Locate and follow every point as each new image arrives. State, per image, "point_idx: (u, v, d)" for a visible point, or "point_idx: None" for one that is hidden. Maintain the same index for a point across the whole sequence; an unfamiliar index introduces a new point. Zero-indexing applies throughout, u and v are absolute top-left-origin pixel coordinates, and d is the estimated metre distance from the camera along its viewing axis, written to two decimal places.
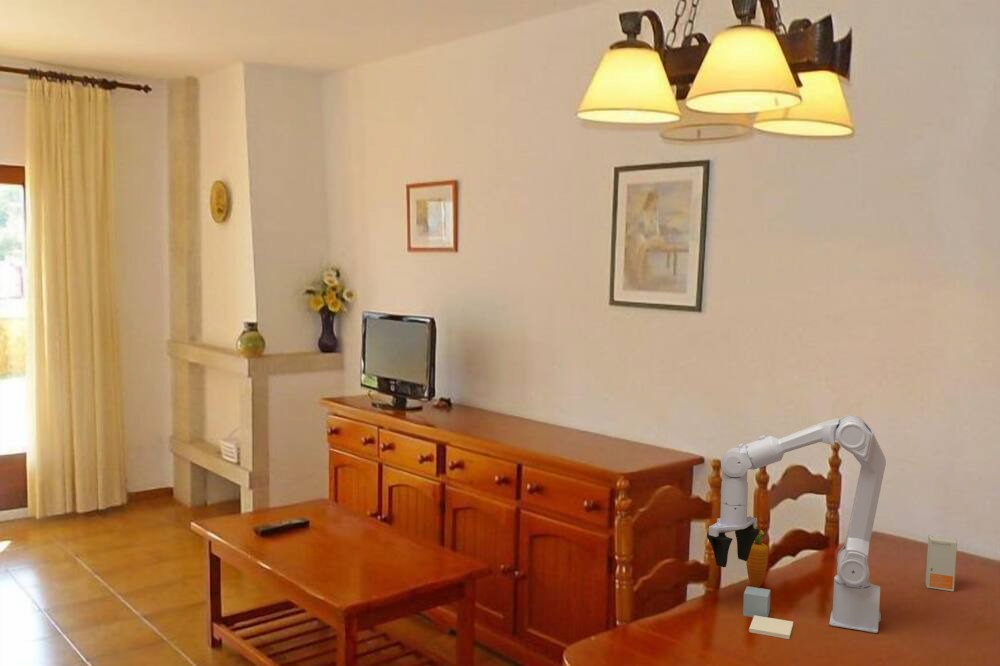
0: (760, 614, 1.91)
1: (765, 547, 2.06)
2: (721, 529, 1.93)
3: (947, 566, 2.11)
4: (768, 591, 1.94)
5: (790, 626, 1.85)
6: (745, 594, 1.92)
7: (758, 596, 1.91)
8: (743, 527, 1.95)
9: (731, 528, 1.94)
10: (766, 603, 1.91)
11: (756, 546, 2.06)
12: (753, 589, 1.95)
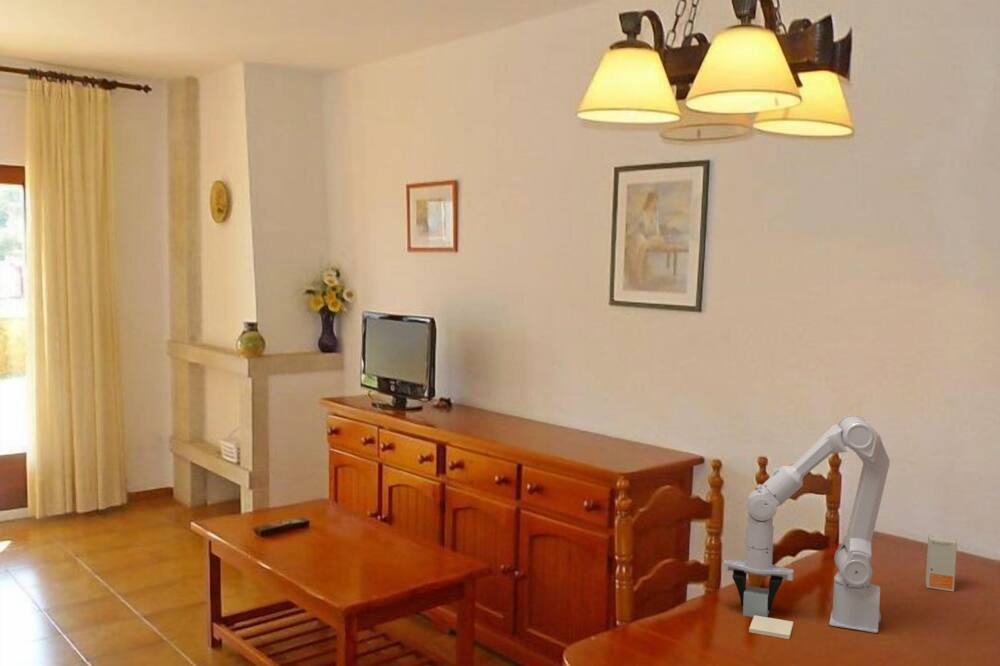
0: (760, 614, 1.91)
1: None
2: (730, 565, 1.94)
3: (947, 566, 2.11)
4: (768, 591, 1.94)
5: (790, 626, 1.85)
6: (745, 594, 1.92)
7: (758, 596, 1.91)
8: (754, 571, 1.91)
9: (741, 568, 1.93)
10: (766, 603, 1.91)
11: None
12: (753, 589, 1.95)
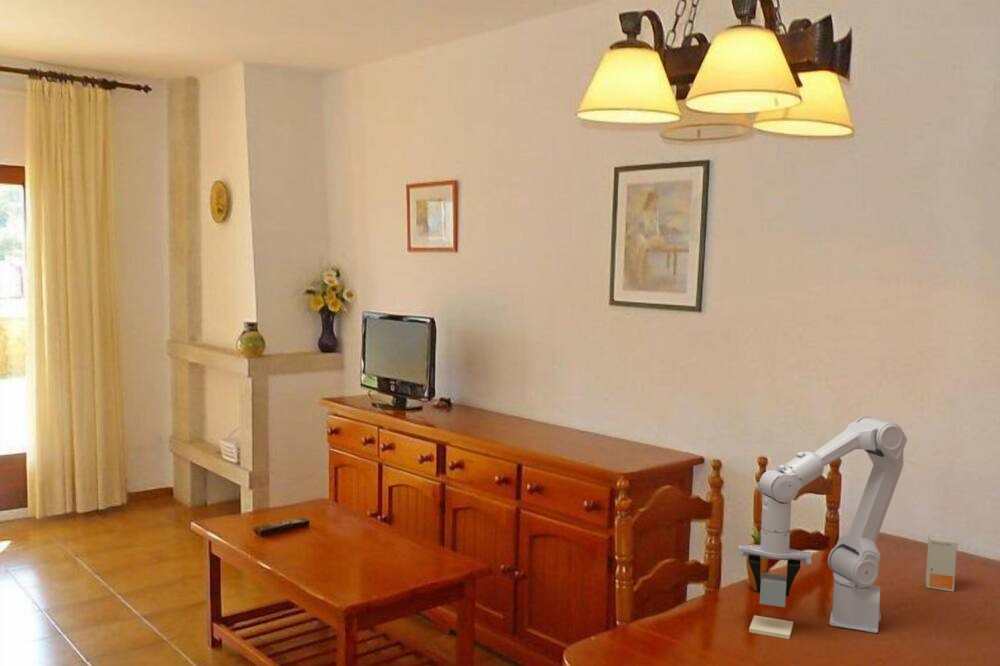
0: (778, 601, 1.82)
1: None
2: (746, 550, 1.85)
3: (947, 566, 2.11)
4: (784, 577, 1.85)
5: (790, 626, 1.85)
6: (762, 581, 1.83)
7: (776, 582, 1.82)
8: (772, 555, 1.82)
9: (757, 552, 1.83)
10: (784, 590, 1.82)
11: None
12: (768, 575, 1.86)
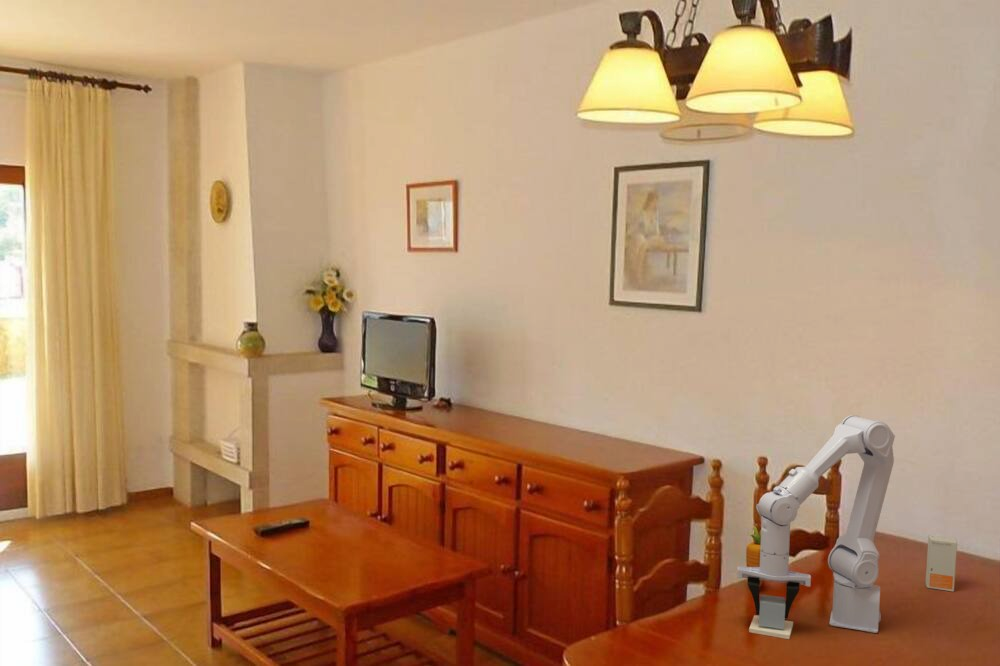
0: (777, 623, 1.83)
1: None
2: (745, 572, 1.85)
3: (947, 566, 2.11)
4: (783, 599, 1.86)
5: (790, 626, 1.85)
6: (761, 603, 1.83)
7: (775, 605, 1.83)
8: (771, 578, 1.82)
9: (757, 574, 1.84)
10: (783, 612, 1.82)
11: (756, 546, 2.06)
12: (768, 597, 1.86)
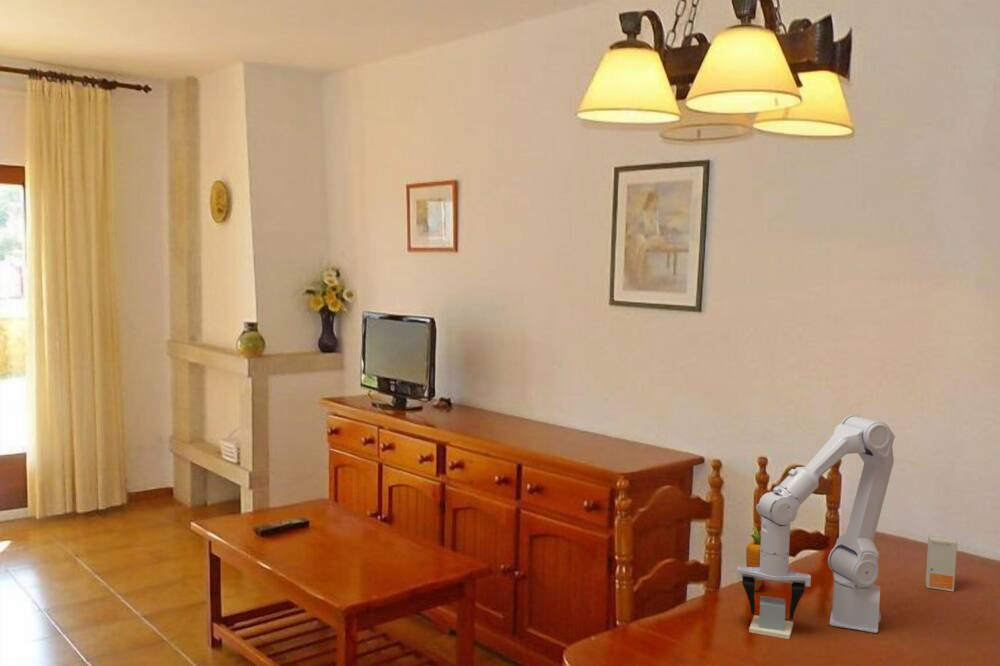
0: (777, 625, 1.83)
1: None
2: (745, 572, 1.85)
3: (947, 566, 2.11)
4: (783, 600, 1.86)
5: (790, 626, 1.85)
6: (761, 605, 1.83)
7: (775, 606, 1.83)
8: (771, 578, 1.82)
9: (757, 575, 1.84)
10: (784, 613, 1.82)
11: (756, 546, 2.06)
12: (768, 599, 1.86)
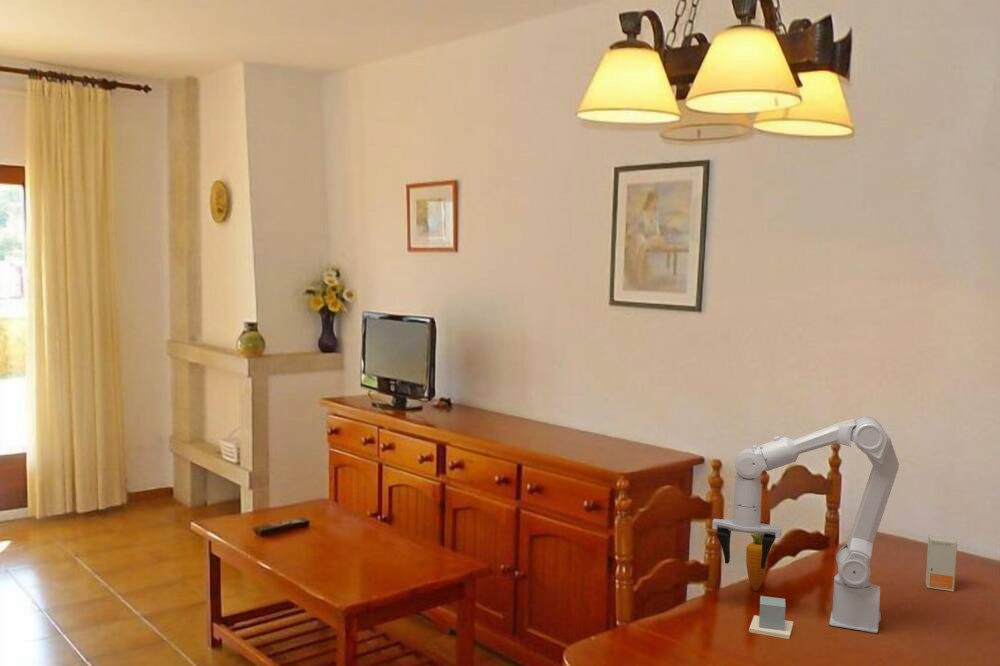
0: (777, 625, 1.83)
1: None
2: (719, 523, 1.96)
3: (947, 566, 2.11)
4: (783, 600, 1.86)
5: (790, 626, 1.85)
6: (761, 605, 1.83)
7: (775, 606, 1.83)
8: (742, 529, 1.93)
9: (729, 526, 1.95)
10: (784, 613, 1.82)
11: (756, 546, 2.06)
12: (768, 599, 1.86)
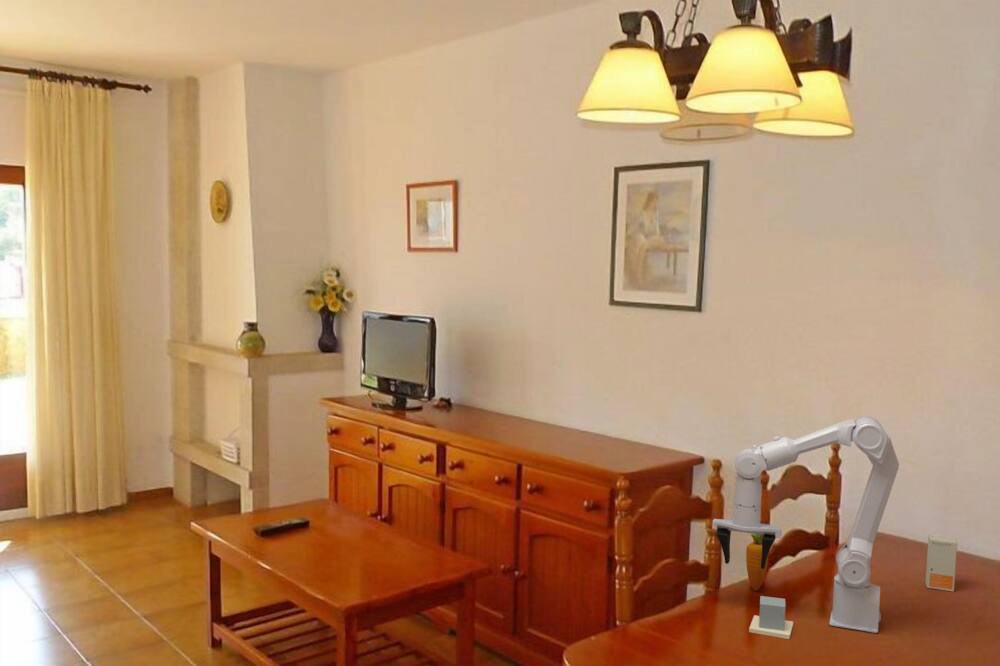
0: (777, 625, 1.83)
1: None
2: (719, 523, 1.96)
3: (947, 566, 2.11)
4: (783, 600, 1.86)
5: (790, 626, 1.85)
6: (761, 605, 1.83)
7: (775, 606, 1.83)
8: (742, 529, 1.93)
9: (729, 526, 1.95)
10: (784, 613, 1.82)
11: (756, 546, 2.06)
12: (768, 599, 1.86)
